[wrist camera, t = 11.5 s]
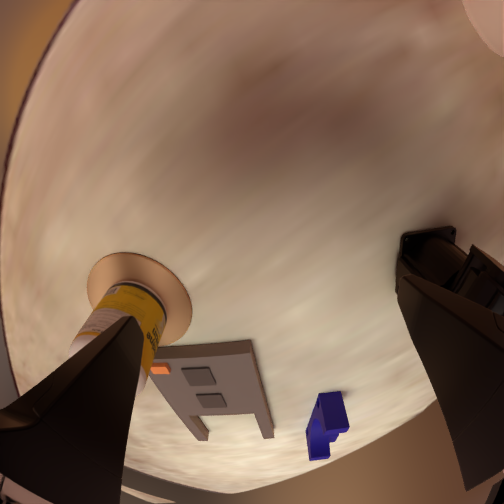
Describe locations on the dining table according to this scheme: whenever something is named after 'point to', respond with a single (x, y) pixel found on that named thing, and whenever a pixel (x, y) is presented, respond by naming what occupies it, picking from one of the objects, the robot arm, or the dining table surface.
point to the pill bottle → (127, 304)
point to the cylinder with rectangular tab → (488, 22)
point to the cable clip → (326, 424)
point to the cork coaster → (149, 275)
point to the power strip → (211, 383)
